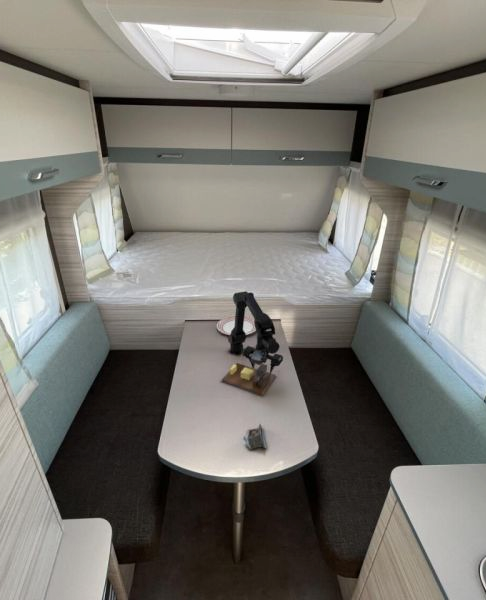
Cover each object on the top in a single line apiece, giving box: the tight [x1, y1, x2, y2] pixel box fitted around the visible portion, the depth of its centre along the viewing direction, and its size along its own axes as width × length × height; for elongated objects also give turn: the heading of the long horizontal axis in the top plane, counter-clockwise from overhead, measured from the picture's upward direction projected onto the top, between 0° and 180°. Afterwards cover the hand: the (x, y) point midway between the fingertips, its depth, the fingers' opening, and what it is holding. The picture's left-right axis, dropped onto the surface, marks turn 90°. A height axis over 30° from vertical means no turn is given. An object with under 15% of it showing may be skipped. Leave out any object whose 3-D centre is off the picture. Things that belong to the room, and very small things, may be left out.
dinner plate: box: [216, 315, 257, 336], centre depth 212 cm, size 27×27×3 cm
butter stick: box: [241, 368, 254, 380], centre depth 163 cm, size 5×4×3 cm
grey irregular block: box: [244, 423, 267, 450], centre depth 127 cm, size 10×7×12 cm
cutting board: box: [221, 362, 276, 396], centre depth 163 cm, size 22×16×4 cm
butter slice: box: [229, 363, 237, 375], centre depth 166 cm, size 2×4×3 cm, turn 152°
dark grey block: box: [256, 363, 268, 383], centre depth 159 cm, size 3×8×8 cm, turn 152°
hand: (262, 370), depth 158 cm, fingers open, 9 cm apart
